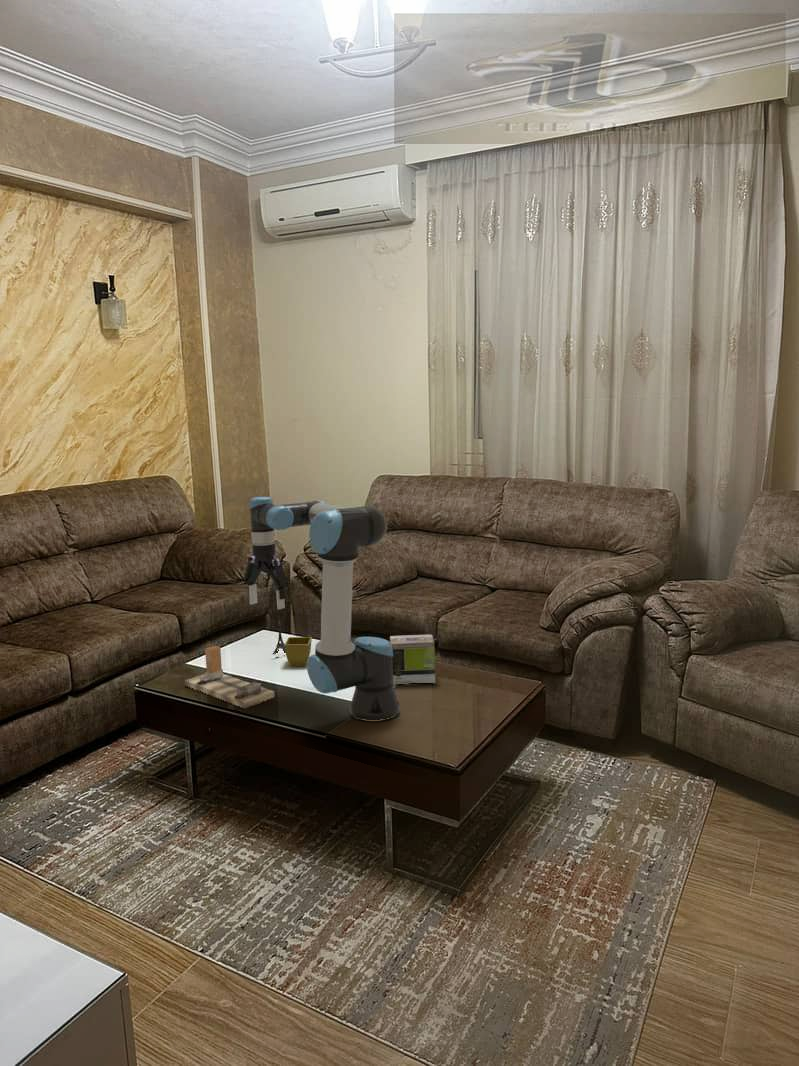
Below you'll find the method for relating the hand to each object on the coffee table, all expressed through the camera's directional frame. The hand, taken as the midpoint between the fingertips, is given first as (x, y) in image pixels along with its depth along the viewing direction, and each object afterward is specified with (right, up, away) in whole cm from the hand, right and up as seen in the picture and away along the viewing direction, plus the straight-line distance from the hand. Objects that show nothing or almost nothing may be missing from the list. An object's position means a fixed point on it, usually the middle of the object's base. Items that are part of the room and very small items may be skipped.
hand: (267, 606), depth 259 cm
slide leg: (-19, -25, +1) cm, 32 cm away
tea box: (+49, -26, +5) cm, 56 cm away
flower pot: (+8, -24, +23) cm, 34 cm away
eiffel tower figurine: (-1, -22, +37) cm, 43 cm away
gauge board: (-12, -28, -3) cm, 31 cm away
